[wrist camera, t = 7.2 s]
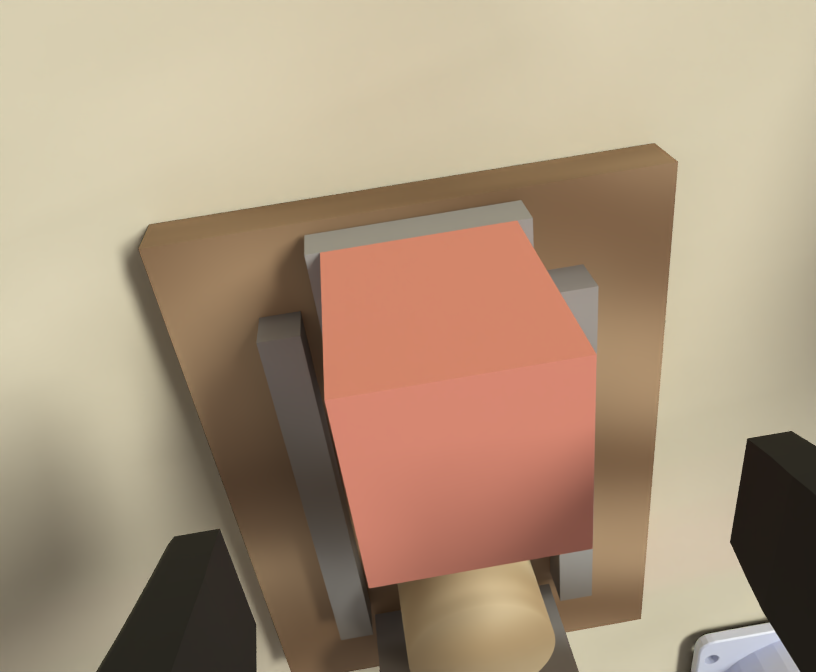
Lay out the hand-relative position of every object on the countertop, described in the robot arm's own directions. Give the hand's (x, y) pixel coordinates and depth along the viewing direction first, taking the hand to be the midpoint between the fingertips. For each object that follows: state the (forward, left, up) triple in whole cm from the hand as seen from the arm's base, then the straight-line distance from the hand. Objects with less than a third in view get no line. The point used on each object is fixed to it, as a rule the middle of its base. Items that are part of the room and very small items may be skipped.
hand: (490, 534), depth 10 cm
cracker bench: (-5, 0, -8) cm, 10 cm away
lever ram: (0, 0, -7) cm, 7 cm away
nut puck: (-8, 0, -7) cm, 11 cm away
